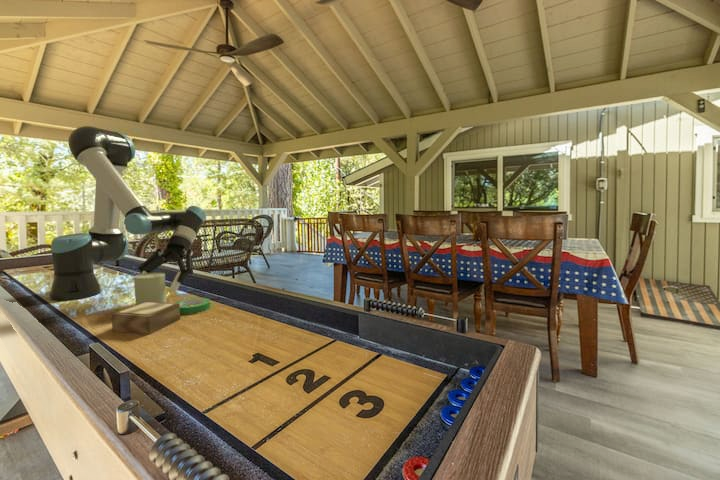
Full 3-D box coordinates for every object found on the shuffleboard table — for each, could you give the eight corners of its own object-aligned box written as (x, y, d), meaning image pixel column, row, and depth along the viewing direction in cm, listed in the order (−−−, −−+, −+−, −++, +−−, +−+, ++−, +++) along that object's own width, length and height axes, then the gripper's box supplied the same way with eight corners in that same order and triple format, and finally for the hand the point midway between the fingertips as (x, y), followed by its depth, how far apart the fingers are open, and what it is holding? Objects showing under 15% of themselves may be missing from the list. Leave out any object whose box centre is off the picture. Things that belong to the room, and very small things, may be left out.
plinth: (112, 331, 95) (111, 313, 94) (146, 316, 107) (145, 300, 106) (150, 334, 93) (148, 315, 92) (180, 319, 105) (179, 303, 104)
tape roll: (192, 316, 108) (191, 308, 108) (166, 312, 112) (165, 305, 112) (217, 306, 118) (217, 299, 118) (193, 303, 122) (193, 296, 122)
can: (152, 313, 110) (150, 277, 109) (128, 311, 112) (126, 276, 111) (173, 305, 119) (171, 271, 118) (151, 303, 121) (148, 270, 119)
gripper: (216, 247, 129) (193, 296, 116) (157, 246, 133) (129, 293, 120) (207, 234, 123) (182, 285, 110) (146, 233, 127) (115, 282, 114)
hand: (154, 289), depth 115 cm, fingers open, 13 cm apart
